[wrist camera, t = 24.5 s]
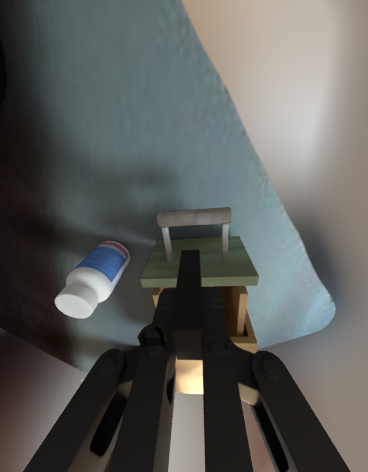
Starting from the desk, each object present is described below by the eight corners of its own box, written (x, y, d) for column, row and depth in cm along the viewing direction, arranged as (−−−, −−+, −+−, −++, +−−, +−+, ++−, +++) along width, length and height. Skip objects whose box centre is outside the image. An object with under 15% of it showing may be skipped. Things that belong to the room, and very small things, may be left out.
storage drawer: (148, 200, 20) (123, 226, 13) (242, 193, 19) (268, 217, 12) (170, 304, 29) (161, 352, 22) (234, 304, 28) (246, 354, 21)
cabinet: (164, 283, 28) (149, 341, 19) (238, 282, 26) (257, 343, 18) (174, 333, 35) (167, 392, 26) (234, 334, 33) (247, 396, 25)
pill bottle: (94, 238, 24) (38, 285, 16) (128, 240, 24) (91, 290, 16) (101, 266, 27) (57, 320, 18) (132, 268, 27) (102, 324, 18)
